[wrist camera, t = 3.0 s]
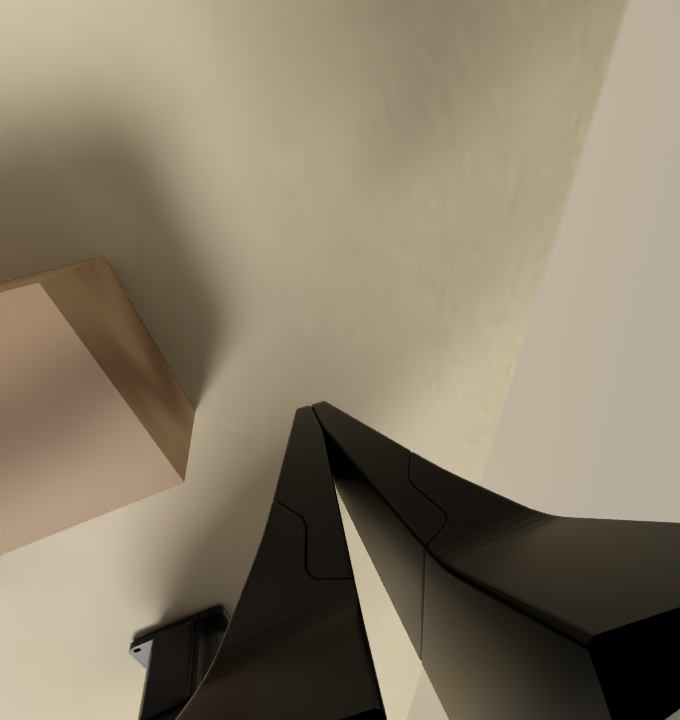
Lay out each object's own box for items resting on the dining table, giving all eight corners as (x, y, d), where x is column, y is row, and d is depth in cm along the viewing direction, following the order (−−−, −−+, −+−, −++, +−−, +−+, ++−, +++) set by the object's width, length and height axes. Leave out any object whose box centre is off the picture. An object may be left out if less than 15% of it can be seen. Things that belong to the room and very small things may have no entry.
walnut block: (195, 409, 16) (184, 482, 12) (50, 461, 15) (-22, 563, 10) (105, 255, 12) (38, 282, 8) (-105, 309, 11) (-322, 376, 6)
